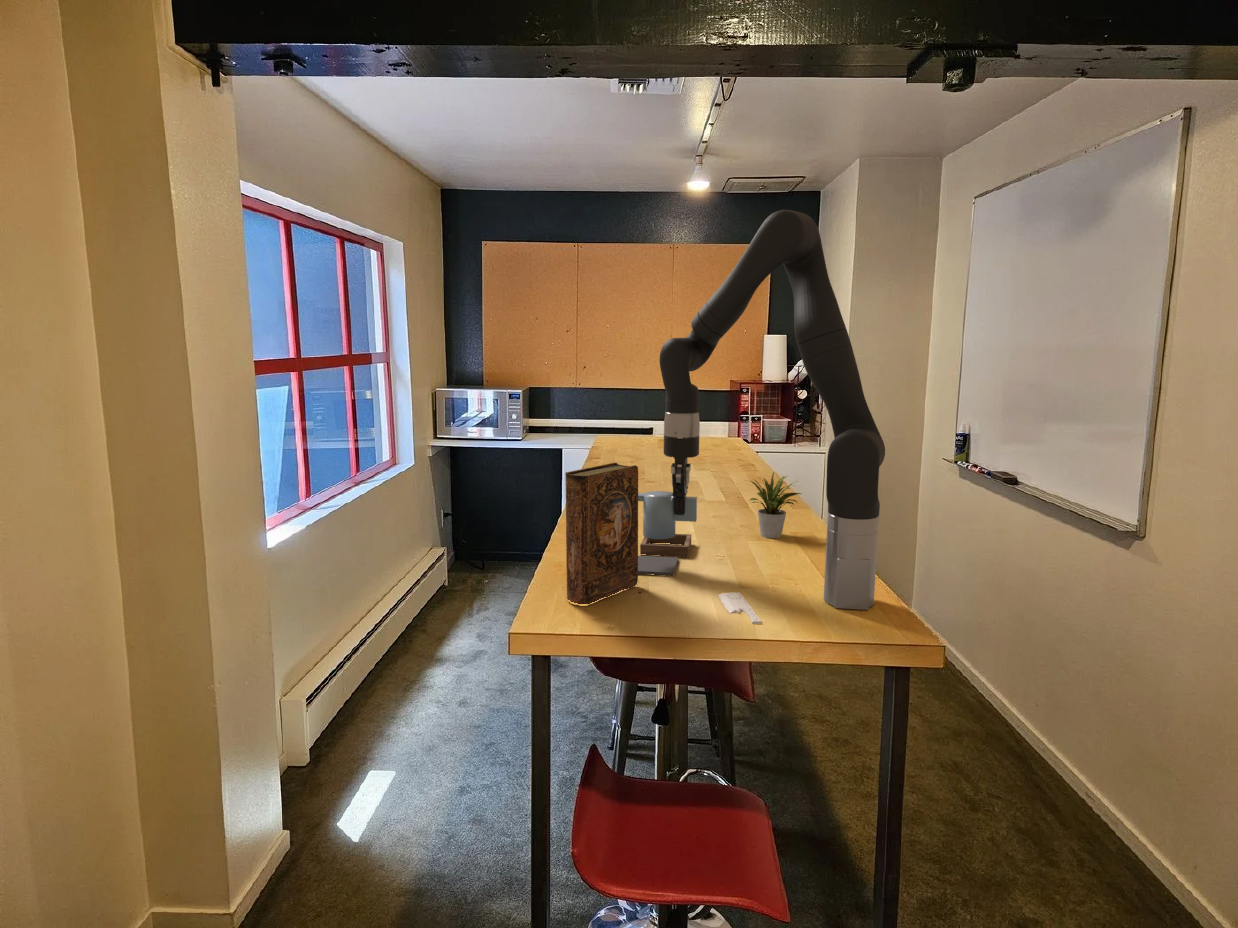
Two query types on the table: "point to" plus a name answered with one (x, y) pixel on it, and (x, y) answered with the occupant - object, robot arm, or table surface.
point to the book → (601, 531)
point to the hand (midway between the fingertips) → (680, 512)
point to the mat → (657, 565)
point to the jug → (664, 513)
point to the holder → (667, 546)
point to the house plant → (772, 508)
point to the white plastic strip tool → (738, 605)
